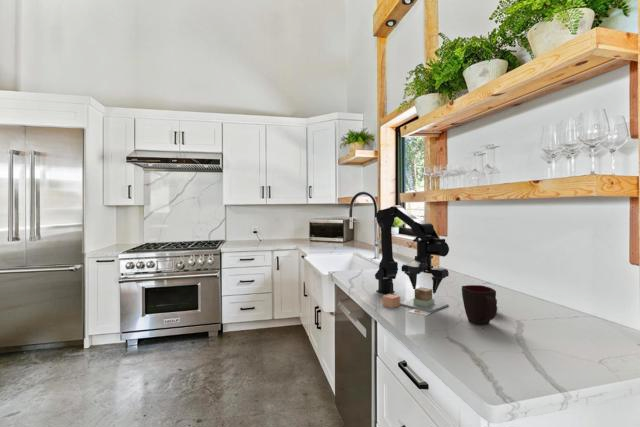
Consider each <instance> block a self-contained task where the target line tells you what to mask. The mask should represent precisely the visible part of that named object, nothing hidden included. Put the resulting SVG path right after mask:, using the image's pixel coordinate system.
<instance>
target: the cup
mask: <svg viewBox="0 0 640 427" xmlns="http://www.w3.org/2000/svg"><path fill="white" fill-rule="evenodd" d="M461 295H462V301H463V302H462V303H463V308H464V312H465V314H466V318H467V321H468V322H469V323H471V324H472V325H475V326H487V325H490V322H491V320H493V319H494V318H495V317H496V315H497V313H498V306H497V305H496V302H495V300H496V299H497V291H496V290H495V289H494V288H492V287H489V286H486V285H485V286H484V285H479V284H477V285H476V284H474V285H473V284H471V285H469V284H468V285H462V286H461Z"/></svg>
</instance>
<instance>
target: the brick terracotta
mask: <svg viewBox="0 0 640 427" xmlns="http://www.w3.org/2000/svg"><path fill="white" fill-rule="evenodd" d="M400 303H401V296H400V295H397V294H392V293H389V294H384V295H382V306H383V307H388V308H391V309H393V308H396V307H400V306H401V305H400Z"/></svg>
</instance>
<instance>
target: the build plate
mask: <svg viewBox="0 0 640 427" xmlns="http://www.w3.org/2000/svg"><path fill="white" fill-rule="evenodd" d="M400 306H402V307H406V308H411V309H412V310H413V309H418V310H421V311H425V312H429V313H430V314H432V313H433V312H434V313H435V312H437V311H439V310H442V309H444V308H447V307H449V303H446V302H442V301H438V300H435V298H433V297H432V299H431V300H428V301H422V300H418V299H415V297H414V298H411V299H408V300H405V301H402V302H401V301H400Z"/></svg>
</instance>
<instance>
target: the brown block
mask: <svg viewBox="0 0 640 427" xmlns="http://www.w3.org/2000/svg"><path fill="white" fill-rule="evenodd" d="M414 298H415V299H418V300H422V301H428V300H431V299H432V298H433V288H427V287H423V286H421V287H416V289H414Z"/></svg>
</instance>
